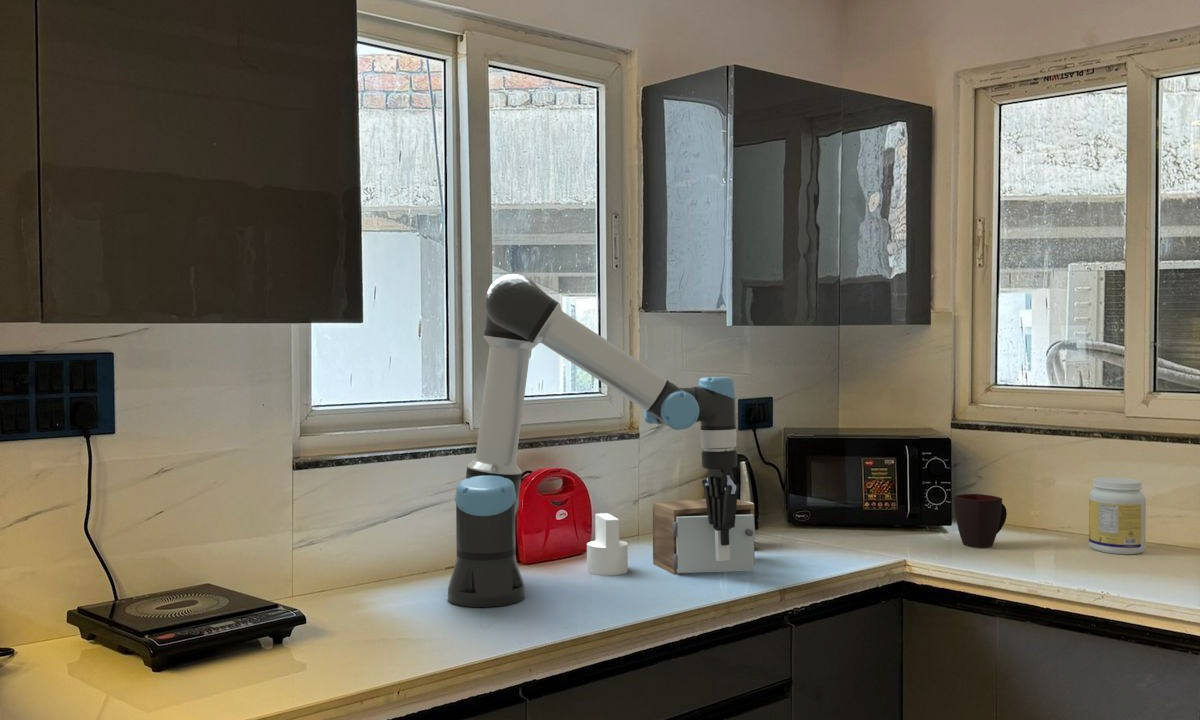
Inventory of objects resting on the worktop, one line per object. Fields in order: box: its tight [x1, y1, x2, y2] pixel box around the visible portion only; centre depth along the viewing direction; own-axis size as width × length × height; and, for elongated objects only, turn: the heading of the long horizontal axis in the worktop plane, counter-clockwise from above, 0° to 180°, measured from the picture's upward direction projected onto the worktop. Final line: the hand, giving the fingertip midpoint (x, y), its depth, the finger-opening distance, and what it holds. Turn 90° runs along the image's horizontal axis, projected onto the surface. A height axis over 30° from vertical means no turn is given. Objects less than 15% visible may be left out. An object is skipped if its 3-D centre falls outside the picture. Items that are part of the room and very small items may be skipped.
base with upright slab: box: [586, 512, 629, 576], centre depth 222 cm, size 9×9×12 cm
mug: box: [953, 493, 1008, 549], centre depth 248 cm, size 10×14×12 cm
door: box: [673, 514, 755, 574], centre depth 217 cm, size 18×3×12 cm, turn 98°
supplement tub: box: [1088, 476, 1147, 555], centre depth 241 cm, size 12×12×17 cm
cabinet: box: [652, 498, 756, 575], centre depth 227 cm, size 20×11×14 cm, turn 111°
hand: (723, 559), depth 214 cm, fingers closed
